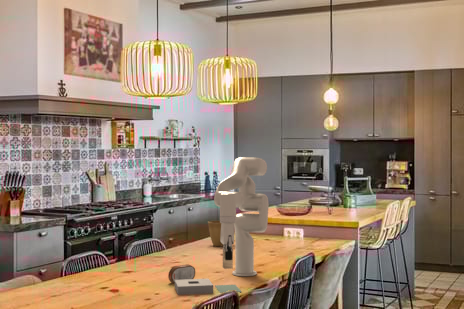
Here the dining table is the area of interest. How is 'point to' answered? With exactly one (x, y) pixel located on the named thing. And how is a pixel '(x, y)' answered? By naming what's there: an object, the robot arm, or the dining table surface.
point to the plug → (227, 261)
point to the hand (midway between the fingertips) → (227, 258)
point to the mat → (227, 288)
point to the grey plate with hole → (193, 286)
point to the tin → (181, 273)
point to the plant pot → (215, 232)
